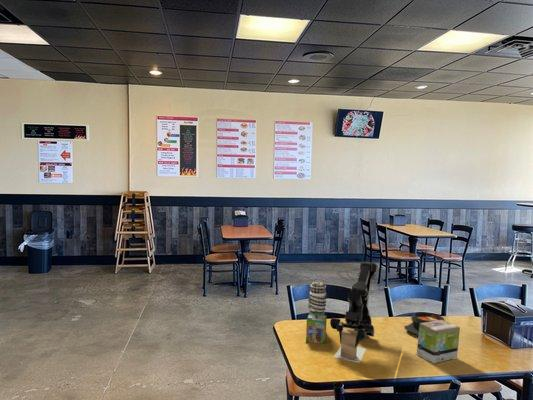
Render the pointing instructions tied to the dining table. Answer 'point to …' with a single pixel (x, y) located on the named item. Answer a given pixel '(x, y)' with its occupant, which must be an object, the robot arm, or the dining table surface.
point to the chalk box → (316, 328)
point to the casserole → (421, 321)
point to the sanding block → (348, 343)
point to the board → (357, 359)
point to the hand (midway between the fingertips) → (348, 345)
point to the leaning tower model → (317, 298)
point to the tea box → (438, 341)
